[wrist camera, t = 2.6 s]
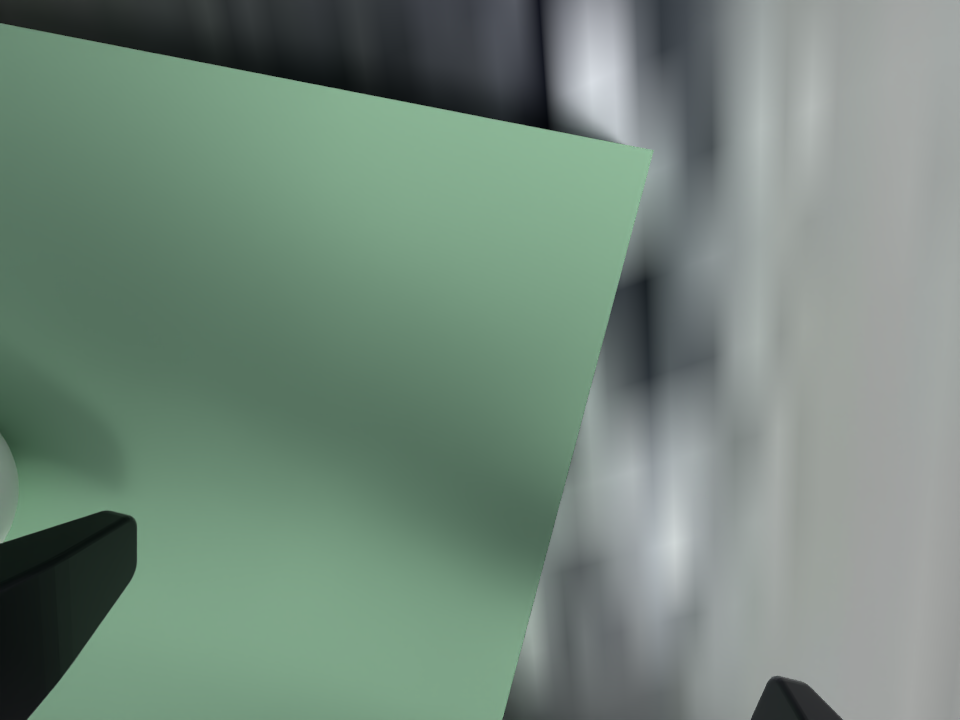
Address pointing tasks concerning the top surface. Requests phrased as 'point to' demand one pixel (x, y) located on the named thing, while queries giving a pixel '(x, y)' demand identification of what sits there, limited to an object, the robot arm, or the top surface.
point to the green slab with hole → (295, 375)
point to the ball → (7, 488)
